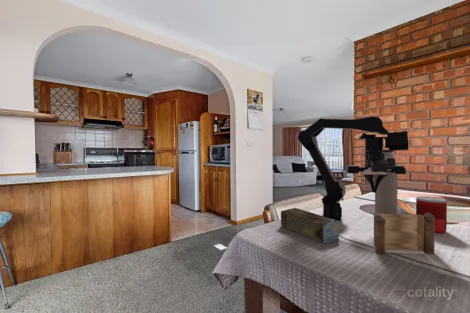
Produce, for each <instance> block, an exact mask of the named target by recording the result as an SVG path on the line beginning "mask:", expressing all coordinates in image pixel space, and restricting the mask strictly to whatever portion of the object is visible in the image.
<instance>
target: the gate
mask: <svg viewBox="0 0 470 313" xmlns="http://www.w3.org/2000/svg"><path fill="white" fill-rule="evenodd" d="M375 218H383V219H385V248H395V249H418V250H422V251H423V244H424V216H422V215H416V214H409V213H407V214H406V213H405V214H403V213H402V214H400V213H397V214H375V213H373V246H374V247H375V248H376V221H375Z"/></svg>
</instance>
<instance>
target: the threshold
mask: <svg viewBox="0 0 470 313" xmlns="http://www.w3.org/2000/svg"><path fill="white" fill-rule="evenodd" d="M385 253H386V254H387V253H390V254H391V253H392V254H415V255H416V254H417V255H419V254H420V255H421V254H422V255H425V252H424V251H423V250H418V249H395V248H385Z"/></svg>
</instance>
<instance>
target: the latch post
mask: <svg viewBox="0 0 470 313" xmlns="http://www.w3.org/2000/svg"><path fill="white" fill-rule="evenodd" d="M375 221H376V247H375V253H376V254H378V255H385V253H386V252H385V219H383V218H375Z"/></svg>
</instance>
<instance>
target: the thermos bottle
mask: <svg viewBox="0 0 470 313" xmlns="http://www.w3.org/2000/svg"><path fill="white" fill-rule="evenodd" d="M393 152H394V151H389V149H383V154H384V158H385V159H387V158H394V159H395V165H399V164H398V162H397V159H396V158H397V157H394V153H393ZM374 173H376V172H374ZM386 175H388V176H385V177H384V178H383V179H382V180H381V182H380V183H379V186H378V188H377V191H376V193H374V214H398V185H399V184H398V178H399V177H398V175H399V174H395V173H390V172H386Z"/></svg>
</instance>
